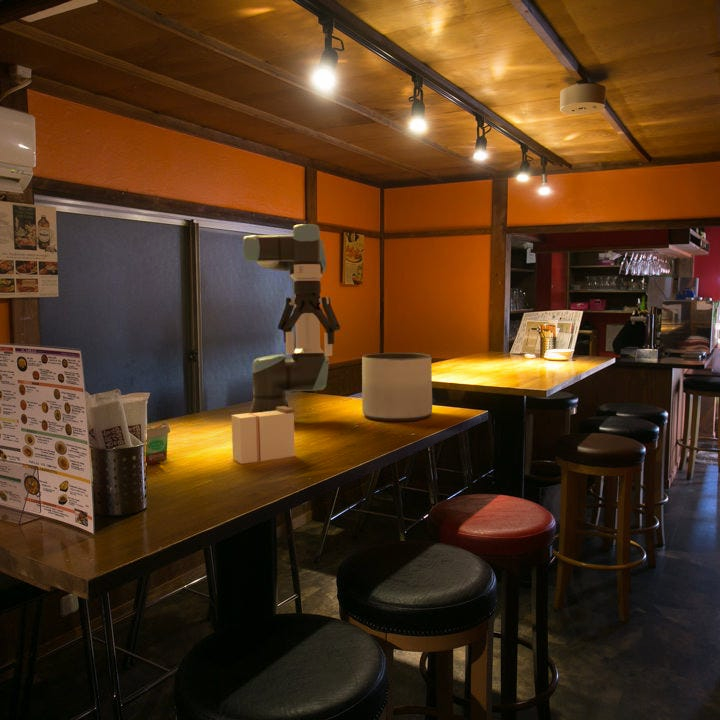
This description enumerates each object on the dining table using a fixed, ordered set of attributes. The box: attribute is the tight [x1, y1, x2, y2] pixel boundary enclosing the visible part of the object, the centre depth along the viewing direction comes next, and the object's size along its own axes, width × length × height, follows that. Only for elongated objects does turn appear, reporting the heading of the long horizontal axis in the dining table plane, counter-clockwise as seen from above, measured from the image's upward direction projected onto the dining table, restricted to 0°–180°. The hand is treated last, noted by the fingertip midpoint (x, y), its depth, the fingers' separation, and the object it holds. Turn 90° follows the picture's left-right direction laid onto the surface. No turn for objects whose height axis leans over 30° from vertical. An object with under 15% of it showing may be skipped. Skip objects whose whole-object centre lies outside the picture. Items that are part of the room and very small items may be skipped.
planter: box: [361, 352, 433, 422], centre depth 242 cm, size 25×25×22 cm
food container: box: [146, 421, 171, 467], centre depth 178 cm, size 12×6×10 cm, turn 148°
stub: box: [231, 412, 260, 465], centre depth 177 cm, size 6×5×12 cm
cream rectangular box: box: [251, 406, 296, 462], centre depth 181 cm, size 6×10×13 cm, turn 122°
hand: (308, 355), depth 191 cm, fingers open, 13 cm apart
